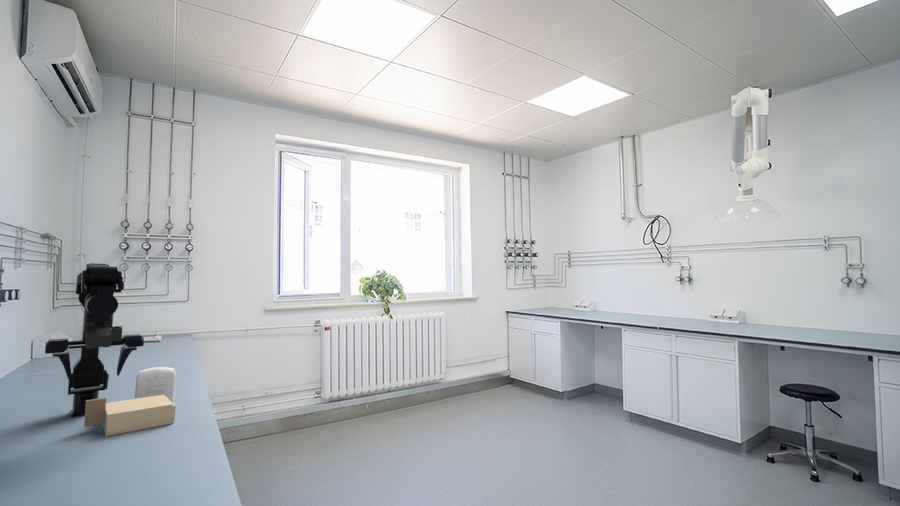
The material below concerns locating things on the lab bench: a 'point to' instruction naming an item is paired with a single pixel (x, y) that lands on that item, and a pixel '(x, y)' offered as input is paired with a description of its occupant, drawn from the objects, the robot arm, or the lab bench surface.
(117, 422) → the sleeve
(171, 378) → the white product package
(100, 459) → the lab bench surface
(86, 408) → the tray
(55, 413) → the lab bench surface
